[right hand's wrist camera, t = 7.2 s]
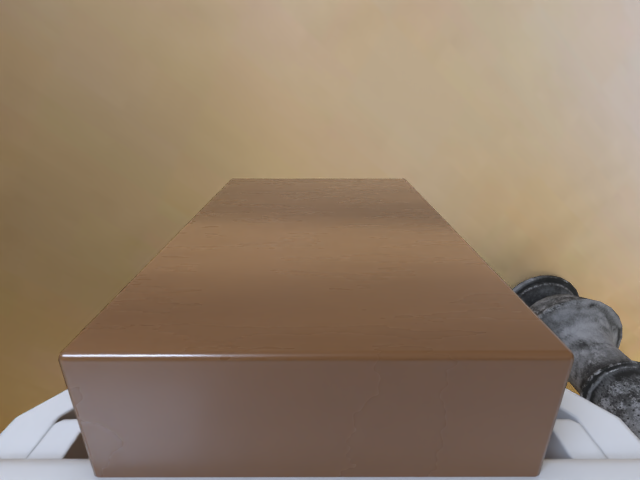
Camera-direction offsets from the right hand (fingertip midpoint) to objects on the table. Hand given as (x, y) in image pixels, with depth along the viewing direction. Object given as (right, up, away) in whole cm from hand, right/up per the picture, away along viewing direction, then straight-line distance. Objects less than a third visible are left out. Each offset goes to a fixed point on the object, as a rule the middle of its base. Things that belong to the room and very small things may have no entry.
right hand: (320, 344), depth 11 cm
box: (0, -5, +7) cm, 8 cm away
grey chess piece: (+15, -2, +15) cm, 21 cm away
